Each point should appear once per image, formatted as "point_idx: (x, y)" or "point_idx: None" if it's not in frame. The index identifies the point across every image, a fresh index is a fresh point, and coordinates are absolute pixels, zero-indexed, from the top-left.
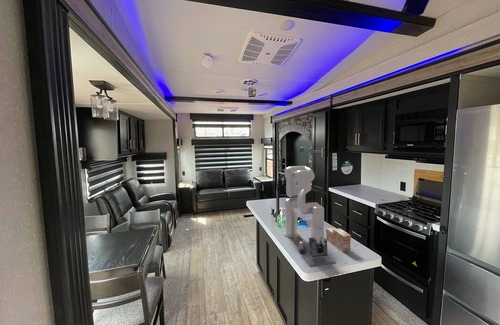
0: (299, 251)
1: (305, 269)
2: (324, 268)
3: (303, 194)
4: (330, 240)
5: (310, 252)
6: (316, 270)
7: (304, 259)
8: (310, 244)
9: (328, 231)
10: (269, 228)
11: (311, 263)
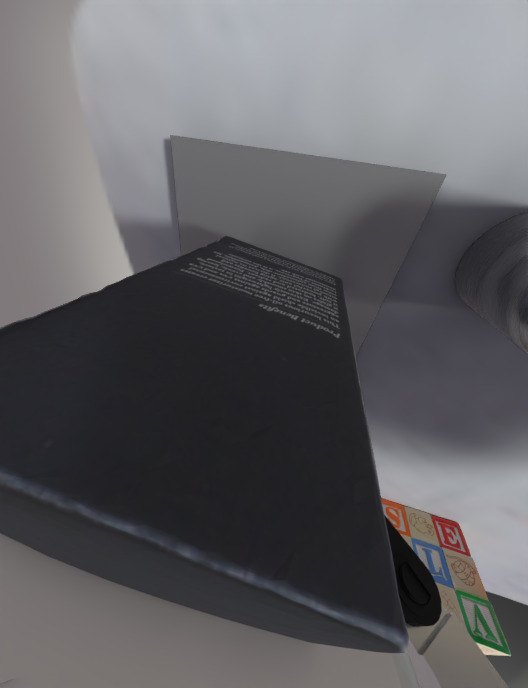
0: None
1: (123, 11)
2: (143, 270)
3: None
4: (409, 524)
5: (274, 263)
6: (113, 175)
7: (325, 158)
8: (210, 327)
9: (463, 619)
10: None
11: (194, 183)
